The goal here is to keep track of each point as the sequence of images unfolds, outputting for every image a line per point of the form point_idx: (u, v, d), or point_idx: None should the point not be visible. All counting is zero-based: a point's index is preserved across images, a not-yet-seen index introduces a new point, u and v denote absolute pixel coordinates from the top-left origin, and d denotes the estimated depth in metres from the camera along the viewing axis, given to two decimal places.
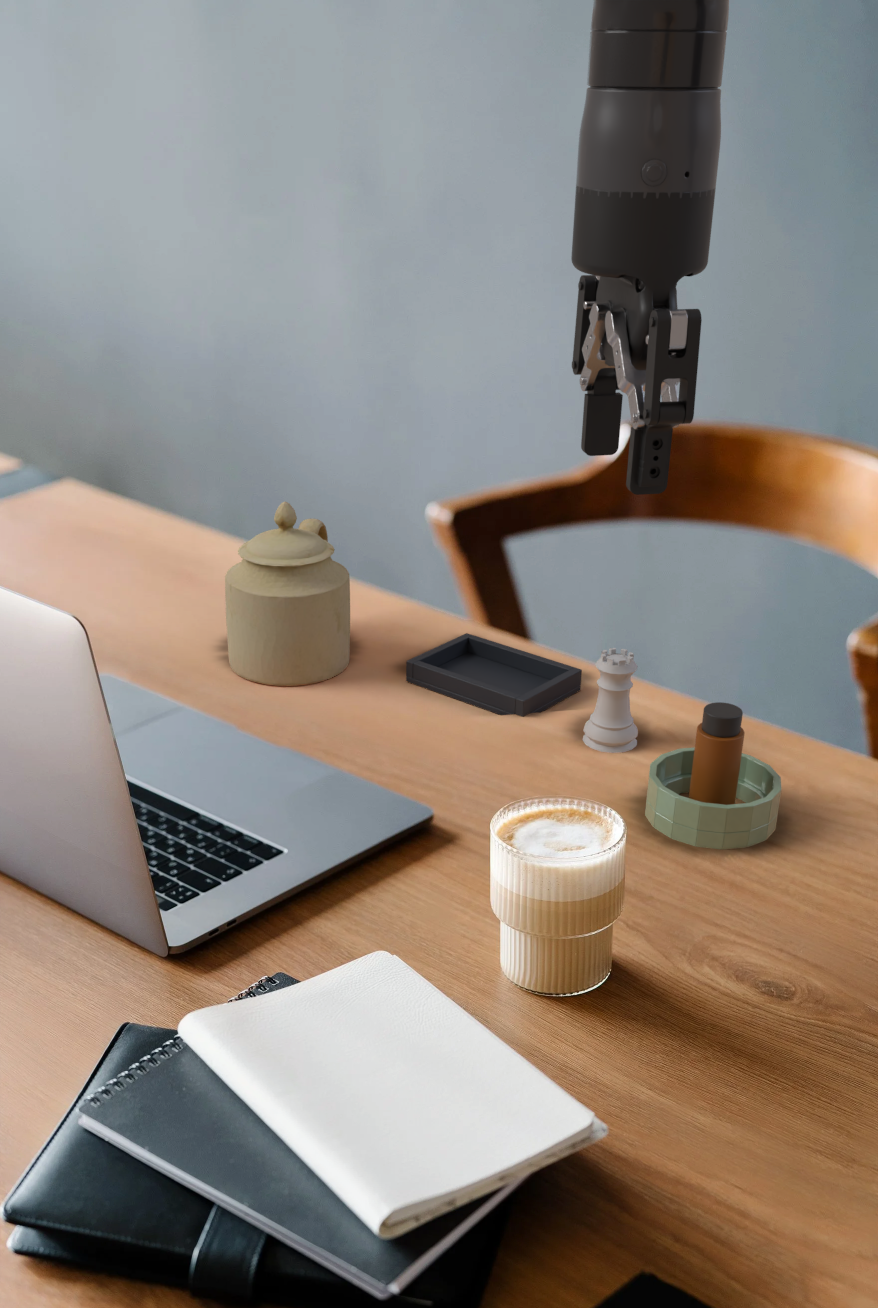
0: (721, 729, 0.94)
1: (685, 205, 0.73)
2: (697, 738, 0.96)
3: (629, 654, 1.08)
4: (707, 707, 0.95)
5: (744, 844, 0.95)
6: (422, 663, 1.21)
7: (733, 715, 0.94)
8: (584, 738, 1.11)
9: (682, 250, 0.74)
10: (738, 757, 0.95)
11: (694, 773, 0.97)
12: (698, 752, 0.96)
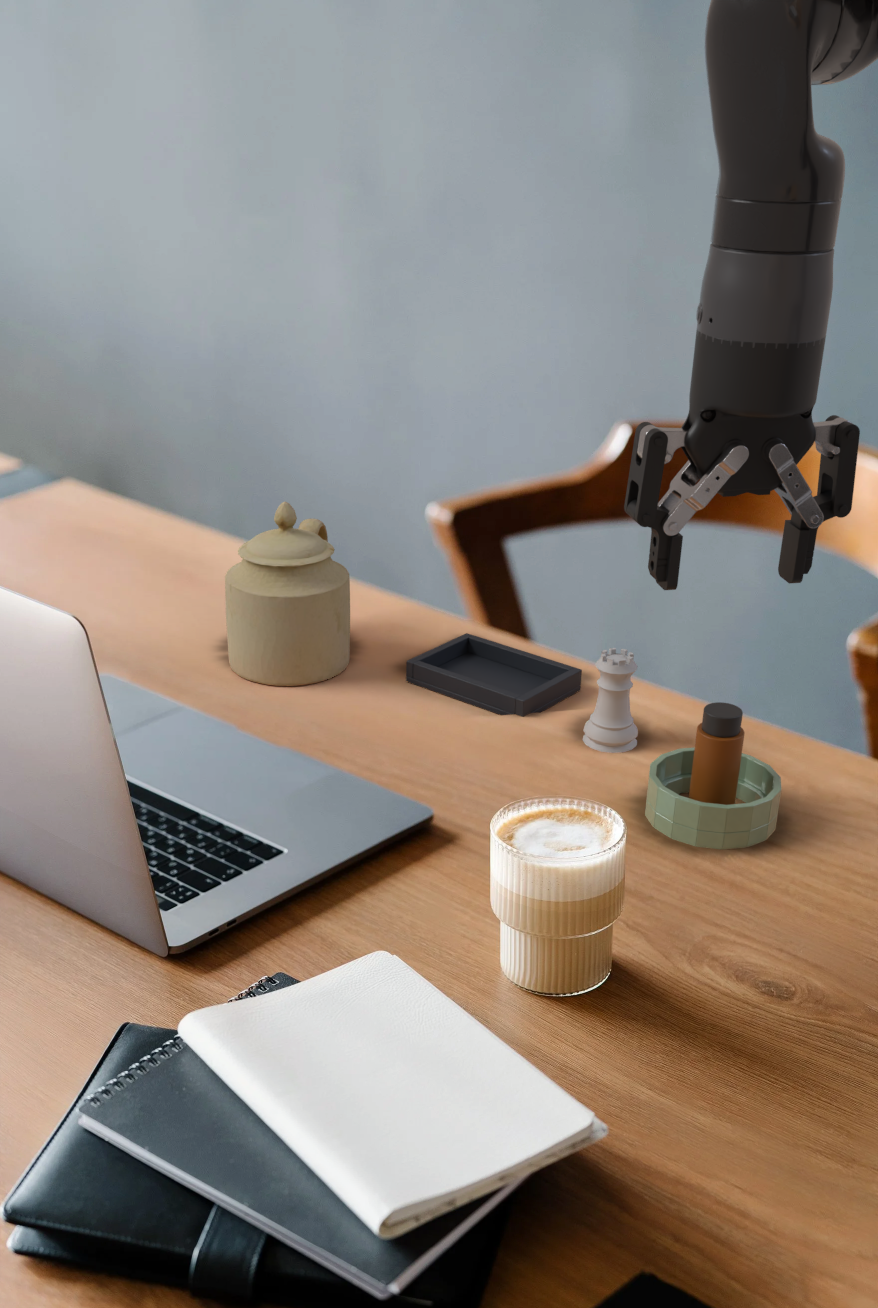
0: (721, 729, 0.94)
1: (708, 347, 0.82)
2: (697, 738, 0.96)
3: (629, 654, 1.08)
4: (707, 707, 0.95)
5: (744, 844, 0.95)
6: (422, 663, 1.21)
7: (733, 715, 0.94)
8: (584, 738, 1.11)
9: (705, 386, 0.83)
10: (738, 757, 0.95)
11: (694, 773, 0.97)
12: (698, 752, 0.96)
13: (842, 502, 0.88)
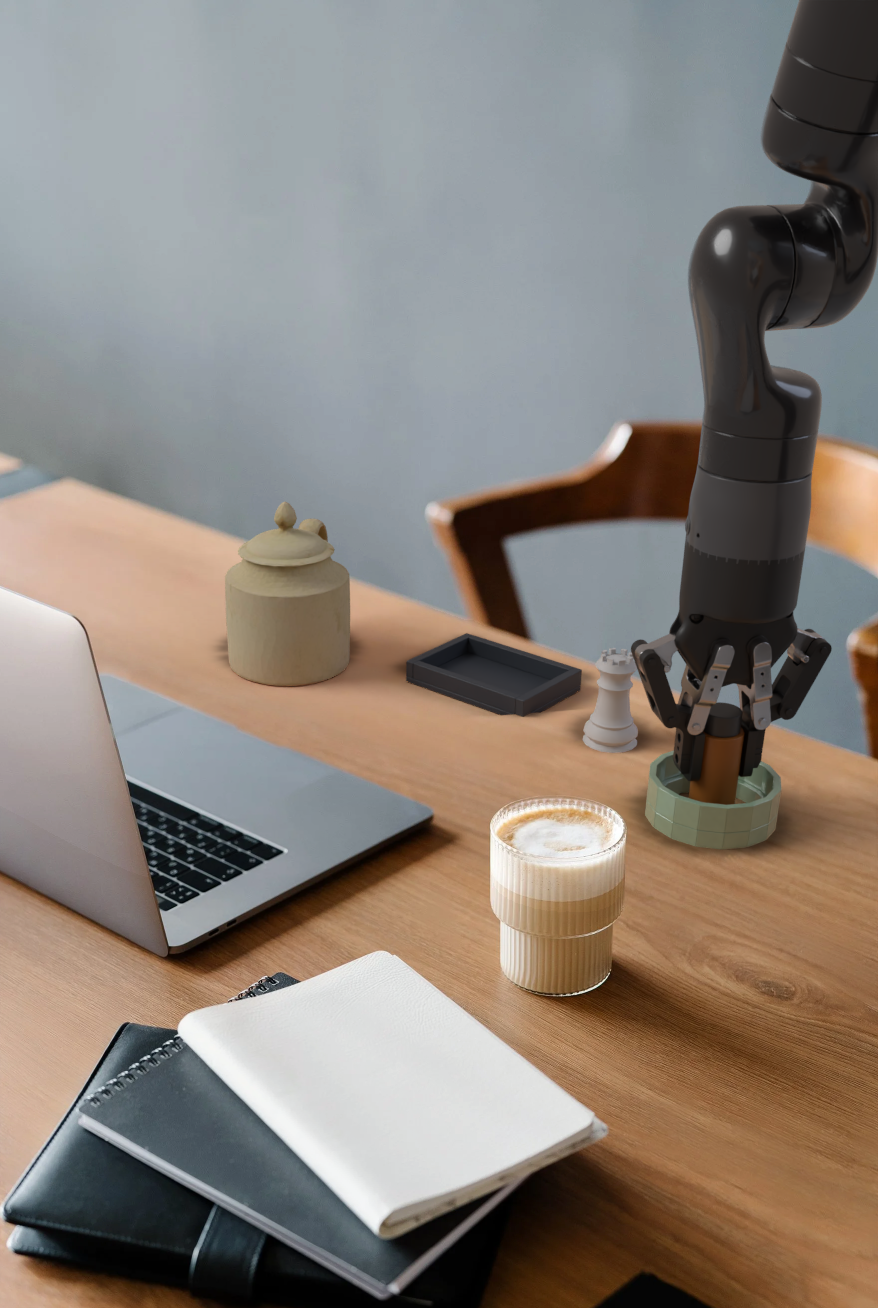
0: (721, 729, 0.94)
1: (696, 559, 0.88)
2: None
3: (629, 654, 1.08)
4: None
5: (744, 844, 0.95)
6: (422, 663, 1.21)
7: (733, 715, 0.94)
8: (584, 738, 1.11)
9: (693, 592, 0.89)
10: (737, 757, 0.95)
11: None
12: None
13: (790, 706, 0.94)
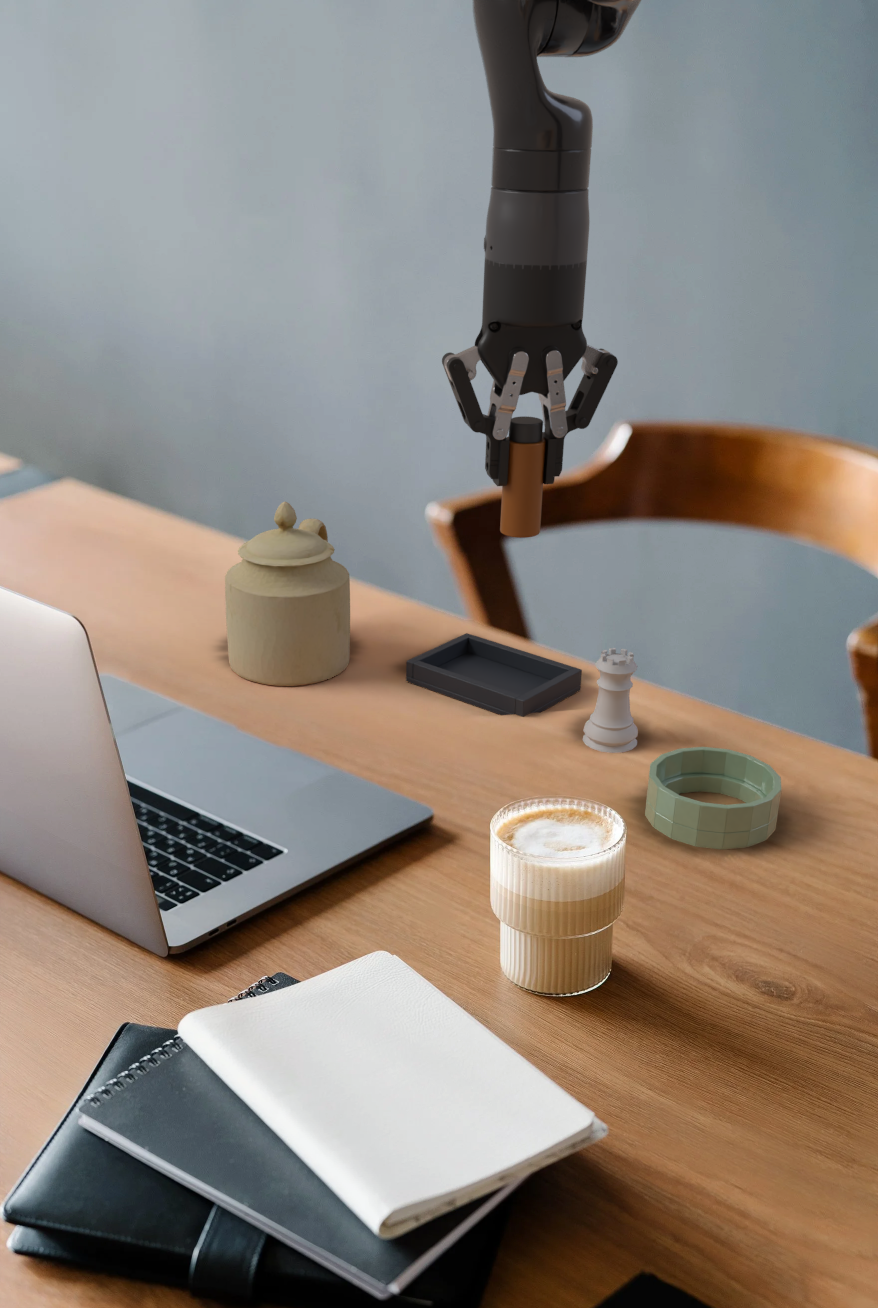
0: (523, 435, 1.07)
1: (491, 270, 1.01)
2: None
3: (629, 654, 1.08)
4: (512, 418, 1.08)
5: (744, 844, 0.95)
6: (422, 663, 1.21)
7: (534, 423, 1.07)
8: (584, 738, 1.11)
9: (490, 302, 1.02)
10: (539, 463, 1.08)
11: None
12: None
13: (584, 415, 1.07)
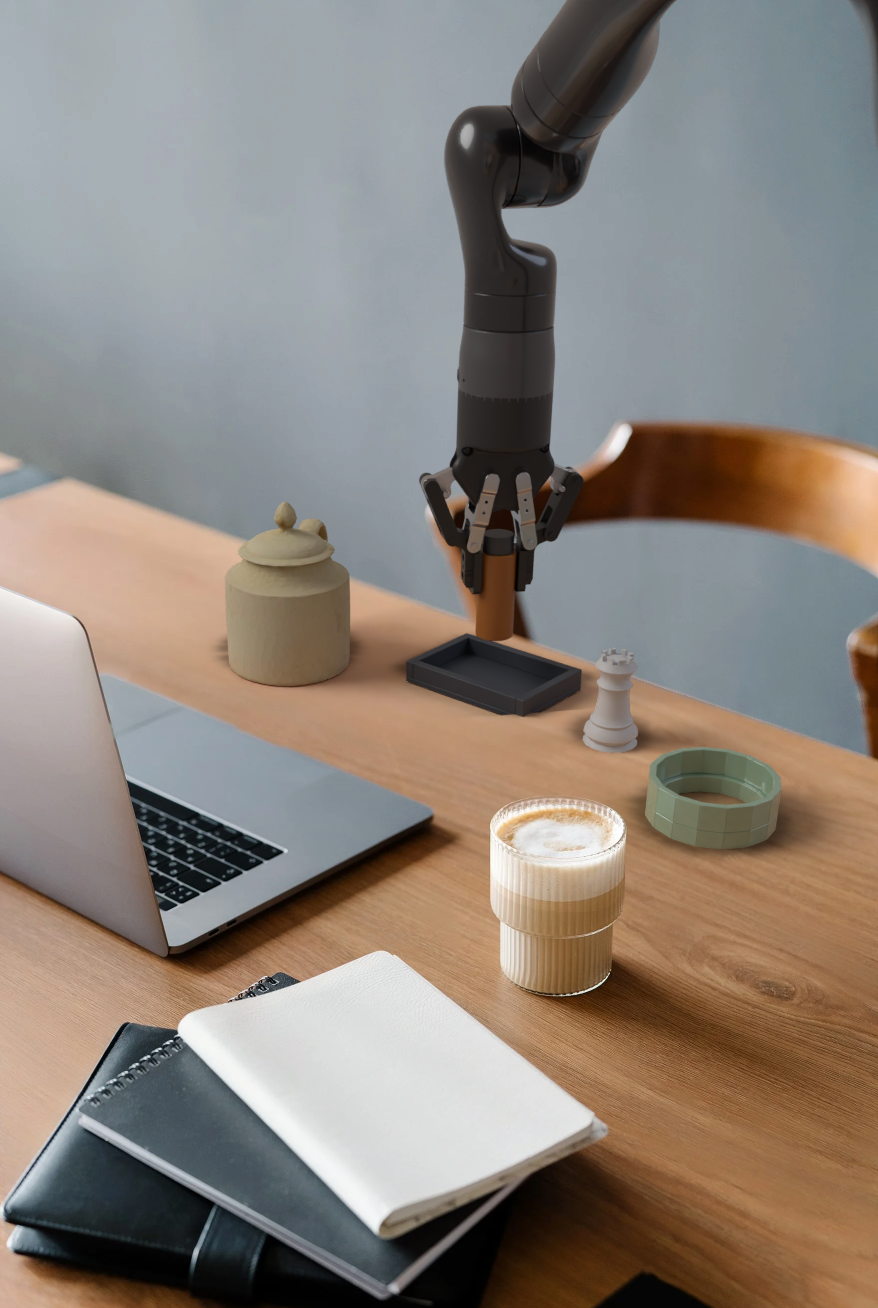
0: (495, 548, 1.15)
1: (463, 400, 1.09)
2: None
3: (629, 654, 1.08)
4: (486, 531, 1.16)
5: (744, 844, 0.95)
6: (422, 663, 1.21)
7: (505, 536, 1.14)
8: (584, 738, 1.11)
9: (463, 429, 1.10)
10: (511, 573, 1.16)
11: None
12: None
13: (553, 529, 1.15)
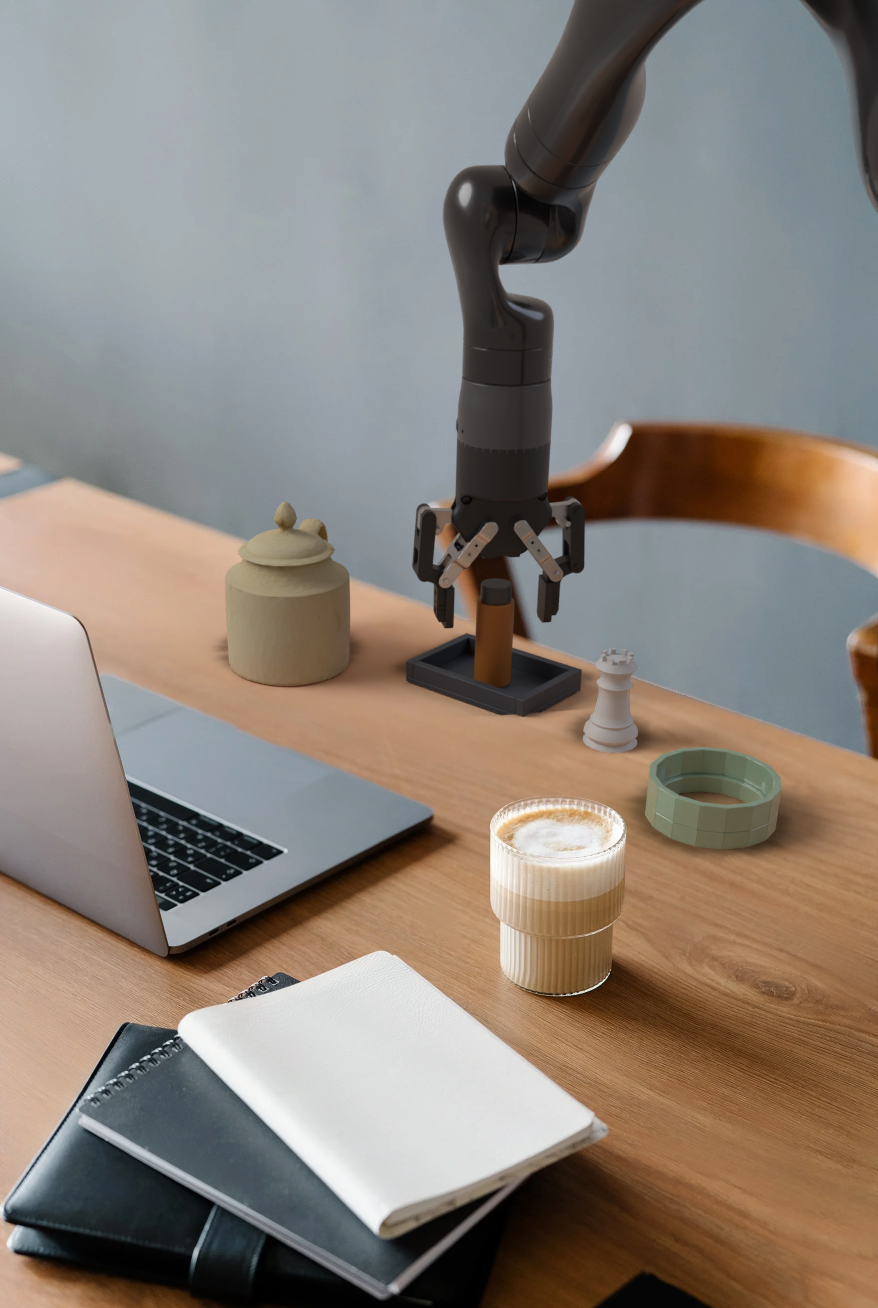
0: (493, 598, 1.17)
1: (462, 450, 1.11)
2: (477, 607, 1.18)
3: (629, 654, 1.08)
4: (484, 581, 1.18)
5: (744, 844, 0.95)
6: (422, 663, 1.21)
7: (503, 587, 1.16)
8: (584, 738, 1.11)
9: (462, 478, 1.11)
10: (509, 622, 1.18)
11: (476, 637, 1.19)
12: (477, 618, 1.18)
13: (576, 562, 1.16)
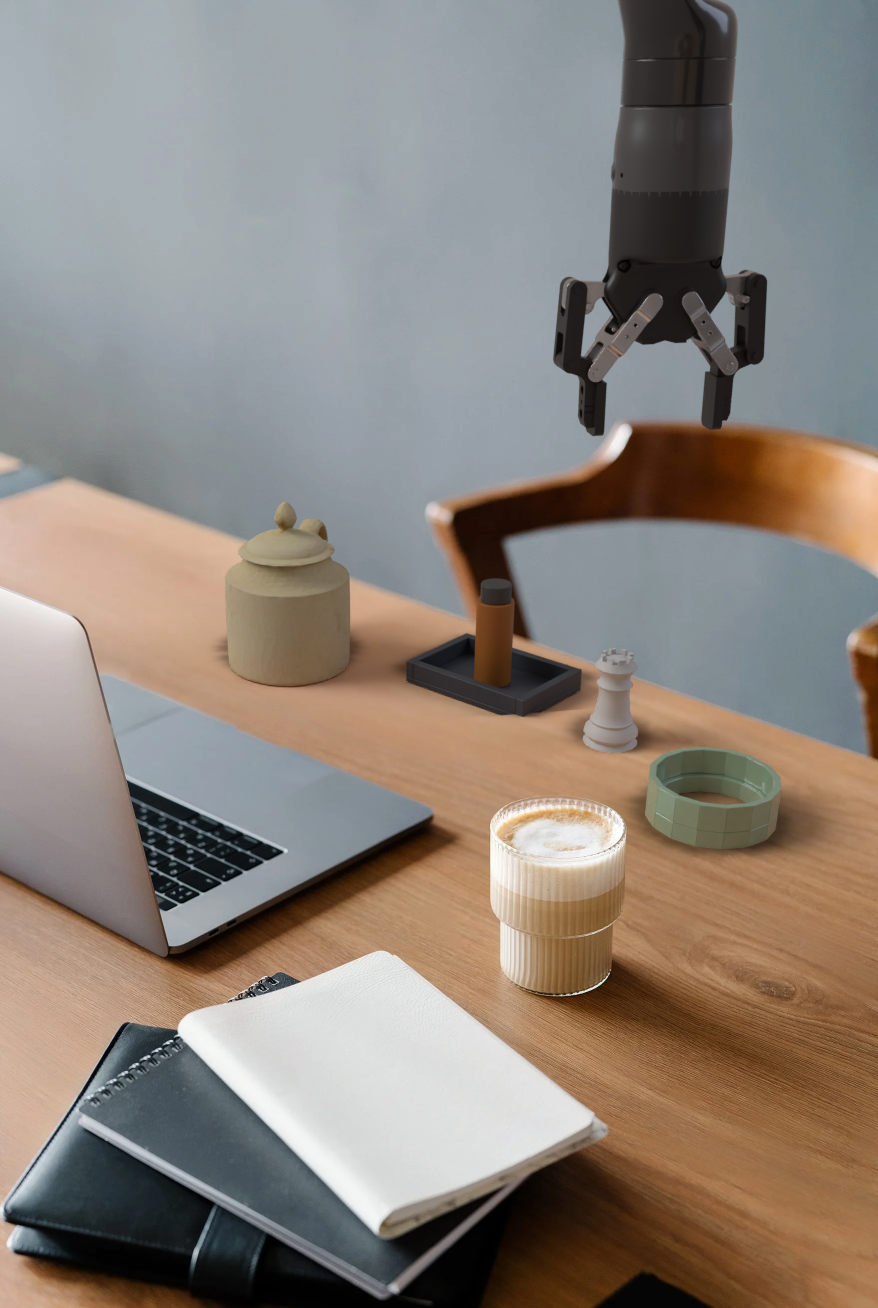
0: (493, 598, 1.17)
1: (620, 200, 0.90)
2: (477, 607, 1.18)
3: (629, 654, 1.08)
4: (484, 581, 1.18)
5: (744, 844, 0.95)
6: (422, 663, 1.21)
7: (503, 587, 1.16)
8: (584, 738, 1.11)
9: (619, 237, 0.91)
10: (509, 622, 1.18)
11: (476, 637, 1.19)
12: (477, 618, 1.18)
13: (755, 349, 0.95)
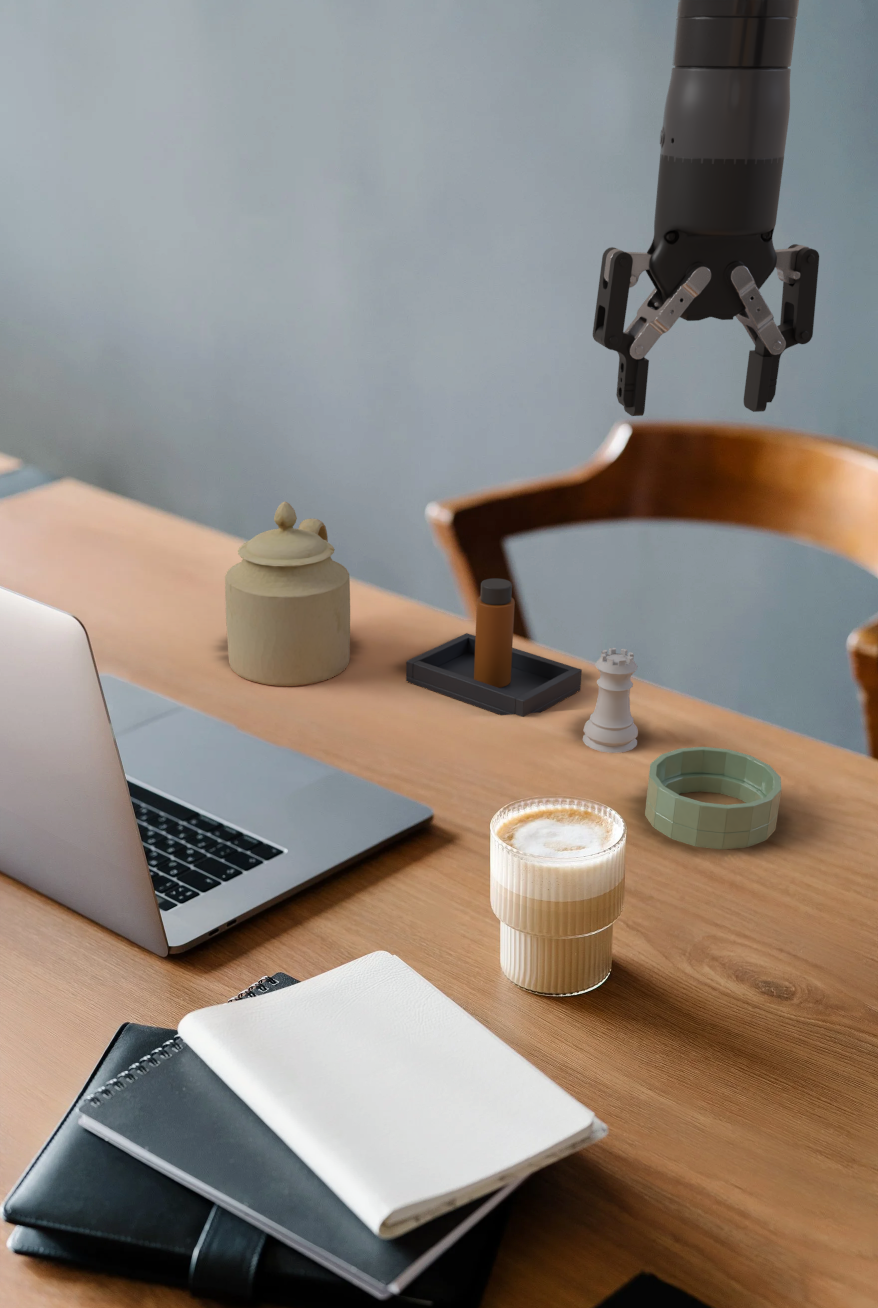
0: (493, 598, 1.17)
1: (670, 167, 0.85)
2: (477, 607, 1.18)
3: (629, 654, 1.08)
4: (484, 581, 1.18)
5: (744, 844, 0.95)
6: (422, 663, 1.21)
7: (503, 587, 1.16)
8: (584, 738, 1.11)
9: (668, 207, 0.86)
10: (509, 622, 1.18)
11: (476, 637, 1.19)
12: (477, 618, 1.18)
13: (803, 328, 0.91)
